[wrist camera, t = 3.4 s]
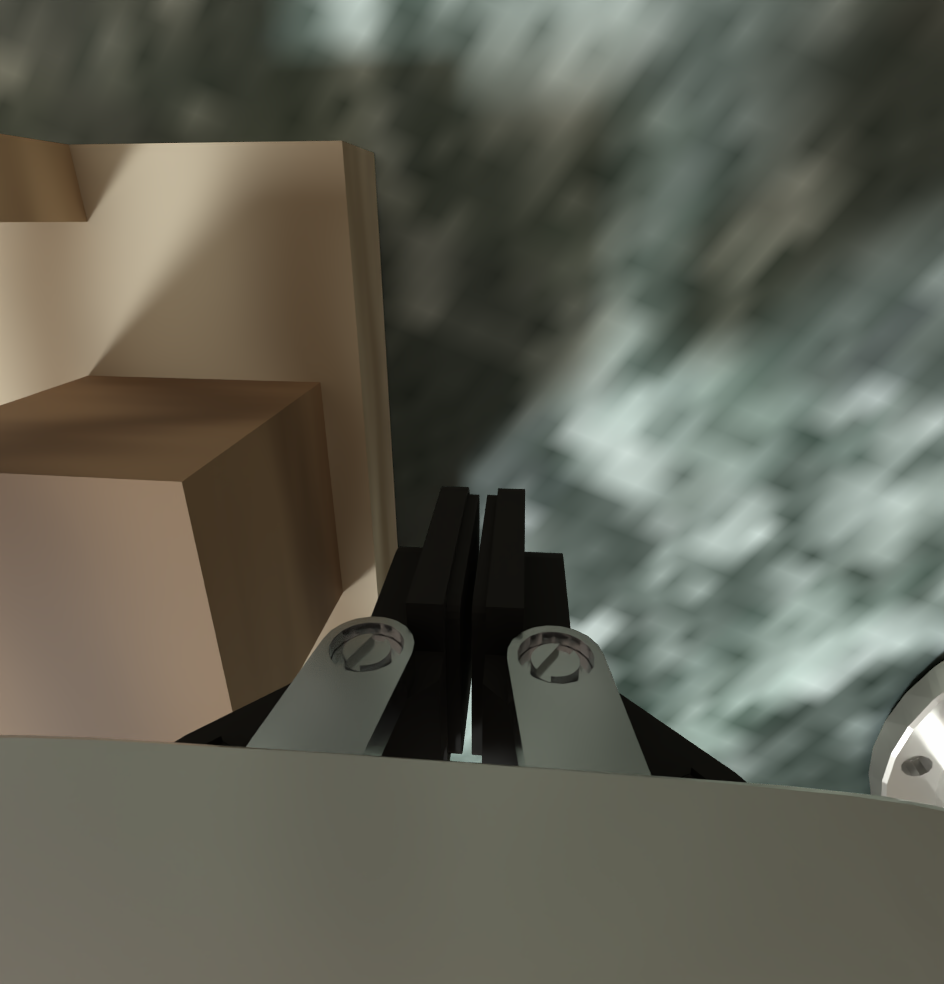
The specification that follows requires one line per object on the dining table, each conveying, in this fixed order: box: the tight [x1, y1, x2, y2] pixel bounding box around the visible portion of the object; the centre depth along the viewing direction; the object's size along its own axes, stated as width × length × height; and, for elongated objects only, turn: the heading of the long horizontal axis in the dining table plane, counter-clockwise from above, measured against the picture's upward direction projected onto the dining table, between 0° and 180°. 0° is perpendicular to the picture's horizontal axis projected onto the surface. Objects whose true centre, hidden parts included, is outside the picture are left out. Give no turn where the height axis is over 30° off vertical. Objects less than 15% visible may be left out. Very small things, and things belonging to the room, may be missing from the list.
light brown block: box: [0, 376, 343, 742], centre depth 13 cm, size 6×6×6 cm
